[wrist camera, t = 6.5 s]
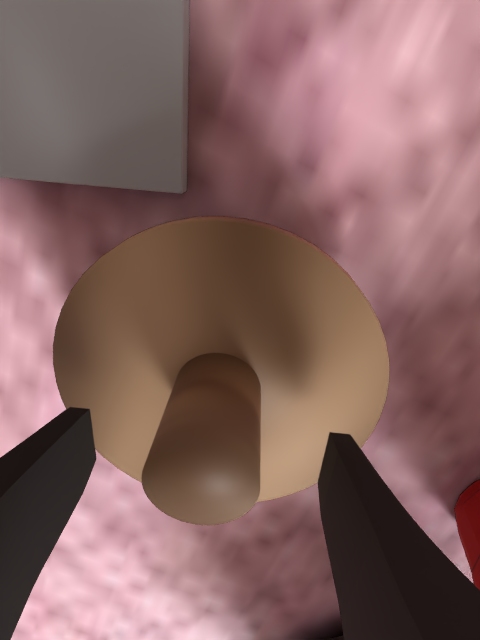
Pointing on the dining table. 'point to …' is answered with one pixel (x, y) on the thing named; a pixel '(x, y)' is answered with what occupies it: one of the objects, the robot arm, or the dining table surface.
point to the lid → (220, 362)
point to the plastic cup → (470, 527)
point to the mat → (95, 92)
